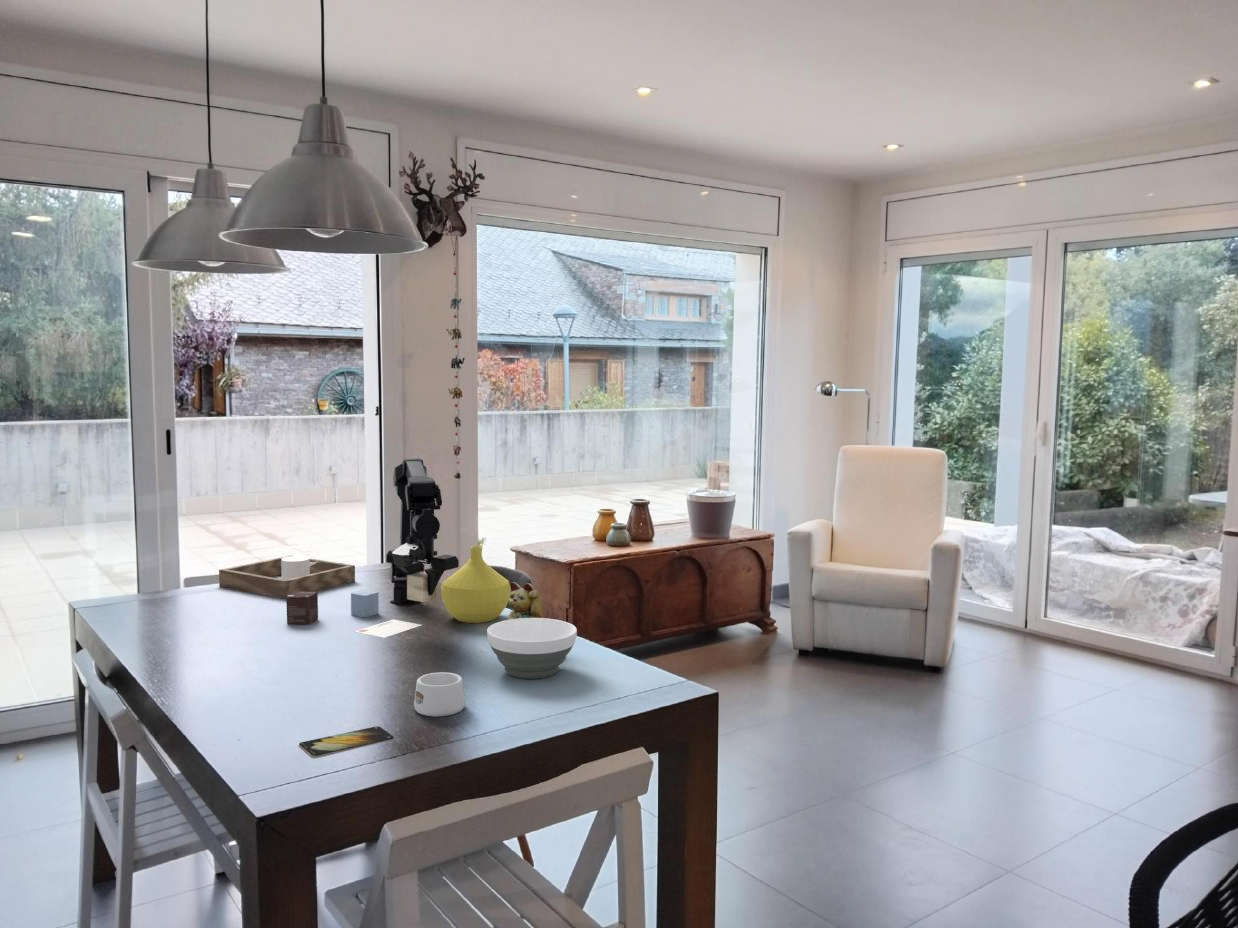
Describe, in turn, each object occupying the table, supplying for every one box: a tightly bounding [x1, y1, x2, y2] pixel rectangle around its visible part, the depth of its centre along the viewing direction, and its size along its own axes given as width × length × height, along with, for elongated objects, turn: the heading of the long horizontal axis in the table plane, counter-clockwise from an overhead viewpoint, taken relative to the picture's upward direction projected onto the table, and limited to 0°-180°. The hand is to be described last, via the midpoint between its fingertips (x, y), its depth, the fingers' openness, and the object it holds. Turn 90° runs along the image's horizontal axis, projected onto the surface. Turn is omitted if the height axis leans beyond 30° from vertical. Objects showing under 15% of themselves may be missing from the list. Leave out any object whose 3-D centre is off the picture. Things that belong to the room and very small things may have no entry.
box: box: [285, 591, 319, 626], centre depth 246 cm, size 6×6×7 cm
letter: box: [353, 619, 423, 639], centre depth 241 cm, size 14×10×1 cm
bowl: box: [486, 617, 578, 680], centre depth 208 cm, size 20×20×10 cm
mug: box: [413, 671, 466, 718], centre depth 185 cm, size 12×10×6 cm
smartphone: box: [298, 725, 395, 758], centre depth 168 cm, size 7×1×15 cm
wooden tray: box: [218, 555, 356, 600], centre depth 288 cm, size 27×28×5 cm
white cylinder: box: [281, 555, 319, 580], centre depth 289 cm, size 20×19×8 cm
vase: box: [440, 545, 512, 624], centre depth 251 cm, size 18×18×19 cm
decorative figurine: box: [506, 581, 543, 620], centre depth 230 cm, size 10×8×15 cm
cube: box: [350, 589, 380, 618], centre depth 254 cm, size 5×5×6 cm
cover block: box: [407, 571, 437, 603], centre depth 234 cm, size 5×5×6 cm
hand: (422, 593), depth 234 cm, fingers closed on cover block, 5 cm apart
